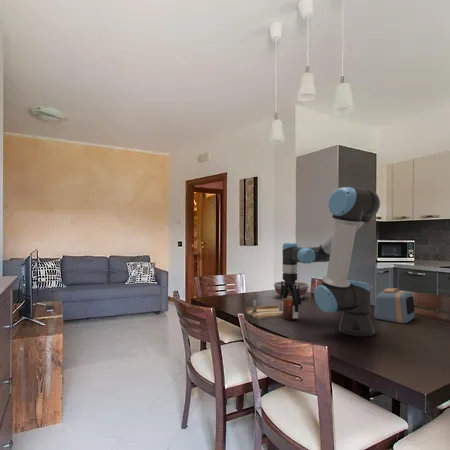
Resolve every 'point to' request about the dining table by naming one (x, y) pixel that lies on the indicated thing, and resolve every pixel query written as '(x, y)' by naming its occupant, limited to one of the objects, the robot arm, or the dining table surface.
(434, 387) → the dining table surface
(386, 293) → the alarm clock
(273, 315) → the caddy
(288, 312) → the mug
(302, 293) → the bowl
